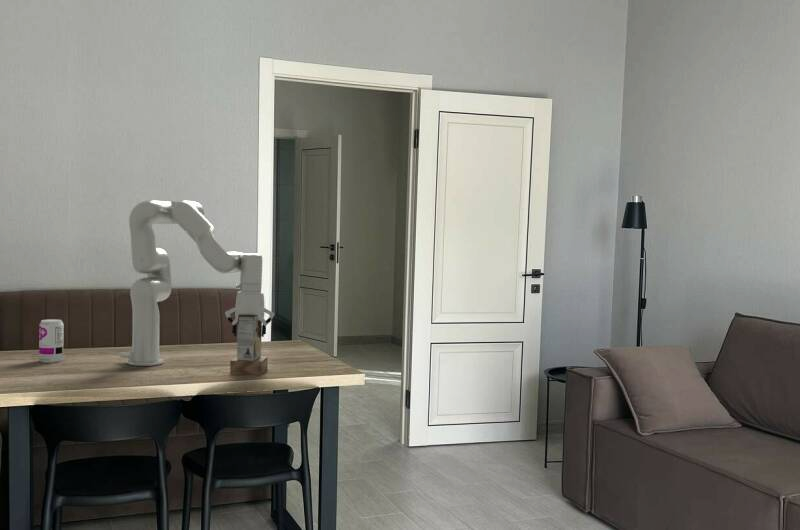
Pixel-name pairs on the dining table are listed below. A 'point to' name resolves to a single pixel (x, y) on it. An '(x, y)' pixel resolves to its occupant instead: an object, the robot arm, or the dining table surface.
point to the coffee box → (249, 337)
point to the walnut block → (249, 366)
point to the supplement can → (51, 340)
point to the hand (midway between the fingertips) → (249, 336)
